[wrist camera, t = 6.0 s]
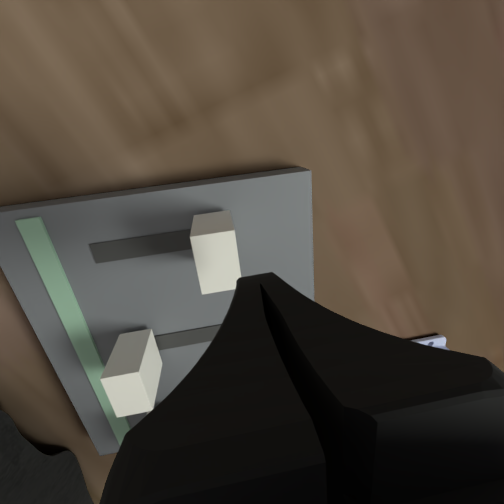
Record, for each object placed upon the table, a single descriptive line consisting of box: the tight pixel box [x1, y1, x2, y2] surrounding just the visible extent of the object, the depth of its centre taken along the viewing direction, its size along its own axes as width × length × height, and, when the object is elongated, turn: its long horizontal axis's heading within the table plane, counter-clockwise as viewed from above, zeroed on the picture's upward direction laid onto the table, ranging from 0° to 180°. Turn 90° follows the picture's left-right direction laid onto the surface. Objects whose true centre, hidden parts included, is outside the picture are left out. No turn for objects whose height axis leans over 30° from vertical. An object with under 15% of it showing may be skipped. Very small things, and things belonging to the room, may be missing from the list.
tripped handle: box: [190, 210, 241, 295], centre depth 15 cm, size 2×3×4 cm, turn 6°
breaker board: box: [0, 167, 314, 456], centre depth 20 cm, size 18×20×2 cm
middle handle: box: [100, 329, 163, 418], centre depth 17 cm, size 2×3×4 cm, turn 6°
